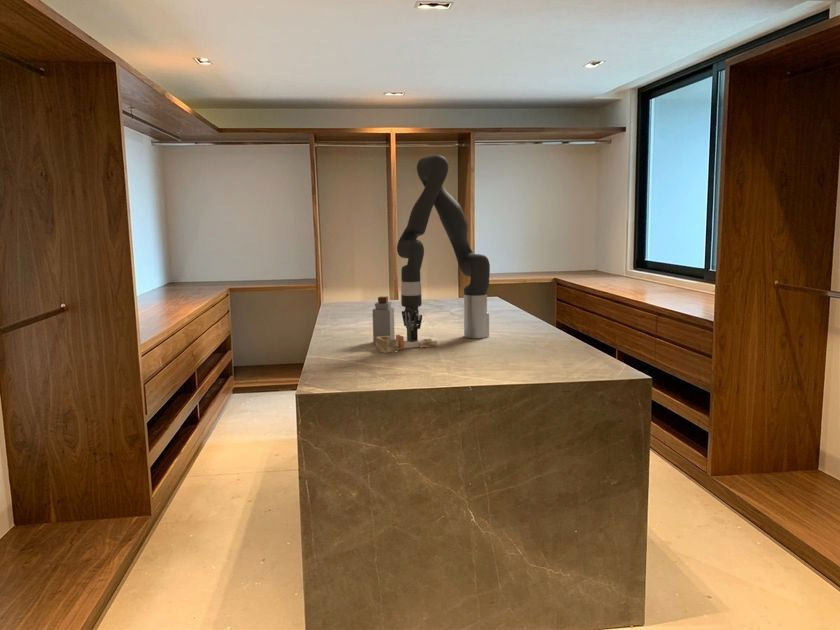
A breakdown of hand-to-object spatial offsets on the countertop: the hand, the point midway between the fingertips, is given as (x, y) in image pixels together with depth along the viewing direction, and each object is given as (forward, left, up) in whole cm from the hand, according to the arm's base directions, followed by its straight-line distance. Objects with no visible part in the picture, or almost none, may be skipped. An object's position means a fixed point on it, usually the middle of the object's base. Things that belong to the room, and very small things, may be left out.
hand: (412, 338), depth 242 cm
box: (+10, 0, -3) cm, 11 cm away
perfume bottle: (+6, -13, -3) cm, 15 cm away
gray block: (0, 0, -3) cm, 3 cm away
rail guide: (-5, 0, -3) cm, 6 cm away
